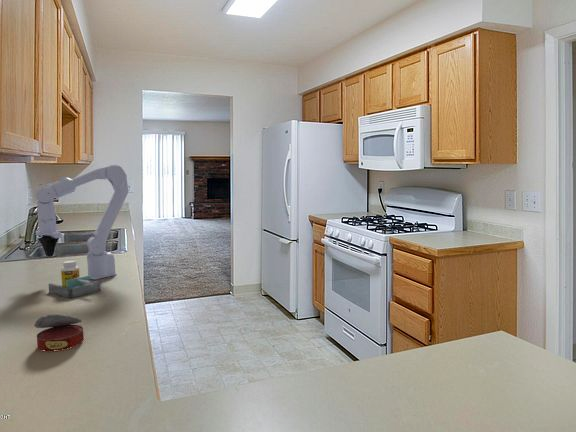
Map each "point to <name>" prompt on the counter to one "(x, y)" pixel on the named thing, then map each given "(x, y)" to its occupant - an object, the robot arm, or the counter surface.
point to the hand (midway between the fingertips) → (49, 256)
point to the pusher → (78, 281)
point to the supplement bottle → (69, 271)
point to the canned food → (58, 332)
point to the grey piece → (74, 289)
